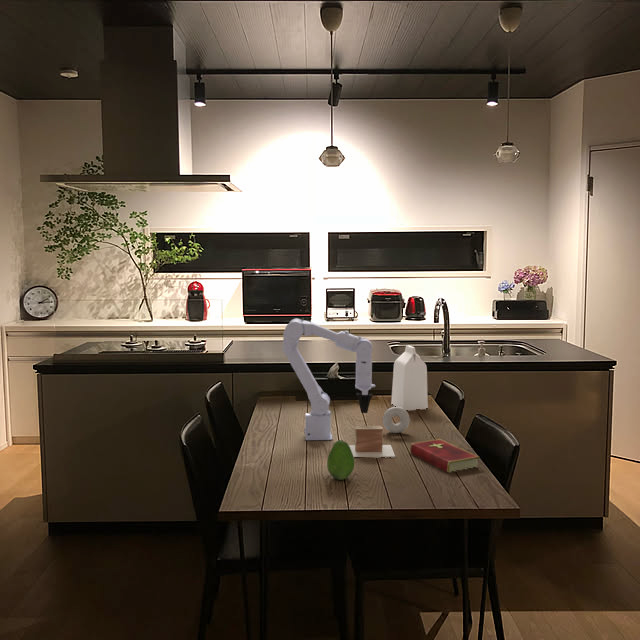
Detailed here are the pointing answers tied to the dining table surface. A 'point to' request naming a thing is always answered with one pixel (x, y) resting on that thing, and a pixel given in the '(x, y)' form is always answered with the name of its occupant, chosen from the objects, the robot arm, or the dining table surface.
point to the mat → (386, 452)
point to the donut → (391, 413)
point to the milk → (410, 381)
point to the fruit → (340, 460)
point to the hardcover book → (444, 455)
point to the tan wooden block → (368, 438)
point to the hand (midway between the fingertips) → (363, 410)
